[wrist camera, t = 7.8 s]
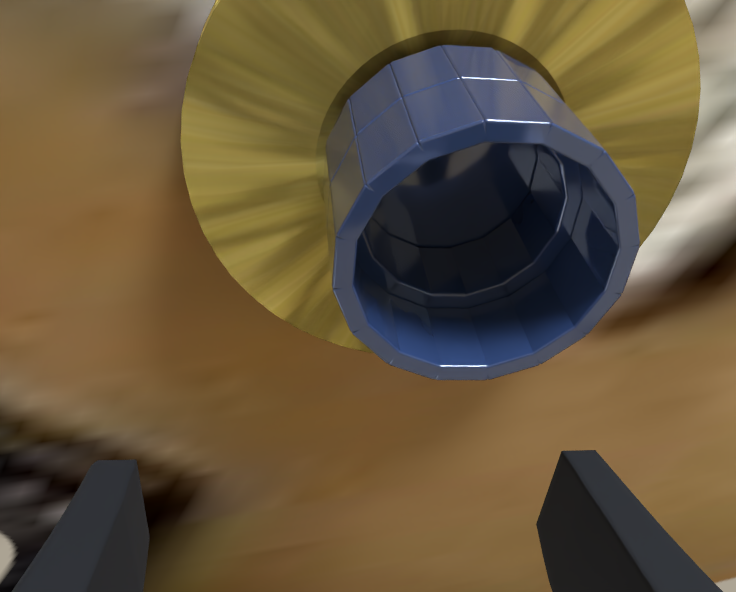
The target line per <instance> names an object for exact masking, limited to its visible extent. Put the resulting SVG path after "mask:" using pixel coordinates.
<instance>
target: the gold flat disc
mask: <svg viewBox="0 0 736 592" xmlns="http://www.w3.org/2000/svg"><path fill="white" fill-rule="evenodd" d="M442 45H457V46H473V47H489V48H493V49H494V50H499V51H501V52H503V53H504V54H506V55H508V56H510V57H512V58H514V59H516V60H517V61H519V62H521V63H523V64H525V65H527V66H529V67H530V68H532V69H534V70H535V71H536V72H537V73H539V74H540V75H541V76H542V77H543V78H544V79H545V80H546V82H547V83H548V84H549V85H550V86H551V87H552V89H553V90H554V91H555V92H556V93H557V94H558V96H559V97H560V98H561V99H562V100H563V101H564V103H565V104H566V105H567V106H568V107H569V108H570V109H571V110H572V112H573V113H574V114H575V115H576V116H577V117H578V119H579V120H580V121H581V122H582V123H583V124H584V126H585V127H586V128H587V129H588V130H589V131H590V133H591V134H592V135H593V136H594V137H595V138H596V140H597V141H598V142H599V143H600V144H601V145H602V146H603V148H604V149H605V150H606V151H607V153H608V154H609V155H610V157H611V158H612V160H613V161H614V163H615V164H616V166H617V167H618V169H619V170H620V171H621V173H622V174H623V176H624V177H625V179H626V180H627V182H628V183H629V185H630V186H631V188H632V189H633V190H634V194H635V195H636V205H637V216H638V227H639V237H640V244H639V248H640V246H641V245H642V244H643V242H644V241H645V240H646V238H647V237H648V236H649V235H650V233H651V232H652V231H653V229H654V228H655V226H656V224H657V223H658V221H659V220H660V218H661V216H662V215H663V213H664V211H665V210H666V208H667V207H668V205H669V203H670V201H671V199H672V197H673V195H674V193H675V190H676V188H677V186H678V184H679V182H680V180H681V178H682V175H683V172H684V169H685V166H686V163H687V161H688V158H689V155H690V152H691V149H692V144H693V140H694V135H695V130H696V126H697V121H698V112H699V100H700V89H701V88H700V66H699V54H698V49H697V43H696V38H695V33H694V28H693V24H692V21H691V18H690V15H689V12H688V9H687V6H686V4H685V1H684V0H216V1H215V3H214V5H213V8H212V10H211V12H210V14H209V16H208V18H207V20H206V22H205V25H204V27H203V30H202V33H201V36H200V39H199V42H198V45H197V48H196V52H195V55H194V58H193V61H192V64H191V68H190V71H189V74H188V77H187V82H186V88H185V94H184V100H183V106H182V117H181V151H182V160H183V169H184V176H185V180H186V184H187V188H188V192H189V196H190V200H191V204H192V206H193V209H194V211H195V214H196V216H197V219H198V221H199V224H200V226H201V229H202V231H203V233H204V234H205V236H206V238H207V240H208V242H209V243H210V245H211V247H212V249H213V250H214V252H215V254H216V255H217V257H218V258H219V259H220V261H221V262H222V263H223V265H224V266H225V267H226V269H227V270H228V271H229V273H230V274H231V275H232V277H233V278H234V279H235V280H236V281H237V282H238V283H239V284H240V285H241V286H242V287H243V288H244V289H245V290H246V291H247V292H248V293H249V294H250V295H251V296H252V297H253V298H254V299H256V300H257V301H258V302H259V303H261V304H262V305H263V306H264V307H266V308H267V309H268V310H269V311H271V312H272V313H273V314H275V315H277V316H278V317H280V318H281V319H283V320H285V321H286V322H288V323H289V324H291V325H293V326H294V327H296V328H298V329H300V330H302V331H305V332H307V333H309V334H311V335H313V336H315V337H317V338H320V339H323V340H326V341H328V342H331V343H334V344H337V345H340V346H343V347H347V348H352V349H356V350H360V351H365V352H370V353H374V352H373V351H372V350H371V349H369V348H368V347H367V346H366V345H365V344H363V343H362V342H361V341H360V340H359V339H358V338H356V337H355V336H354V335H353V334H352V332H351V331H350V330H349V327H348V325H347V323H346V320H345V318H344V316H343V314H342V311H341V309H340V307H339V304H338V302H337V300H336V297H335V295H334V293H333V290H332V284H331V273H330V261H329V250H328V239H327V226H326V214H325V203H324V192H323V178H324V160H325V146H326V141H327V139H328V137H329V135H330V133H331V131H332V129H333V127H334V125H335V123H336V121H337V119H338V117H339V115H340V113H341V111H342V109H343V107H344V105H345V103H346V101H347V100H348V99H350V97H351V95H353V94H354V93H355V92H356V91H357V90H358V89H360V88H361V87H362V86H363V85H364V84H365V83H367V82H368V81H369V80H370V79H371V78H372V77H373V76H375V75H376V74H377V73H378V72H379V71H380V70H382V69H383V68H384V67H385V66H386V65H388V64H390V63H391V62H393V61H396V60H398V59H401V58H404V57H407V56H410V55H413V54H416V53H419V52H422V51H424V50H427V49H430V48H433V47H436V46H442Z"/></svg>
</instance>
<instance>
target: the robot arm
mask: <svg viewBox="0 0 736 592" xmlns="http://www.w3.org/2000/svg"><path fill="white" fill-rule="evenodd" d="M536 525H537V529H538V534H539V539H540V543H541V548H542V553H543V557H544V562H545V566H546V570H547V574H548V578H549V582H550V585H551V588H552V591H553V592H723V591H722V590H721V589H720V588H719V587H718V586H716V584H715V583H714V582H713V581H712V580H711V579H710V578H709V577H708V576H707V575H706V574H705V573H704V572H703V571H702V570H701V569H700V568H699V567H698V566H697V565H696V564H695V562H694V561H693V560H692V559H691V558H690V557H689V556H688V555H687V554H686V553H685V552H684V551H683V549H682V548H681V547H680V546H679V545H678V544H677V543H676V542H675V541H674V540H673V539H672V538H671V536H670V535H669V534H668V533H667V532H666V531H665V530H664V529H663V528H662V526H661V525H660V524H659V523H658V522H657V521H656V520H655V519H654V517H653V516H652V515H651V514H650V513H649V512H648V511H647V509H646V508H645V507H644V506H643V505H642V504H641V503H640V501H639V500H638V499H637V498H636V497H635V496H634V494H633V493H632V492H631V491H630V490H629V489H628V488H627V486H626V485H625V484H624V483H623V482H622V481H621V479H620V478H619V477H618V476H617V475H616V474H615V472H614V471H613V470H612V469H611V468H610V467H609V465H608V464H607V463H606V462H605V461H604V460H603V459H602V457H601V456H600V455H599V454H598V453H597V452H596V451H595V450H584V451H562V452H561V455H560V457H559V460H558V463H557V466H556V469H555V472H554V475H553V478H552V481H551V483H550V486H549V489H548V492H547V495H546V498H545V501H544V504H543V506H542V509H541V512H540V515H539V518H538V521H537V524H536ZM148 546H149V531H148V525H147V519H146V513H145V507H144V502H143V496H142V490H141V484H140V478H139V472H138V466H137V461H136V460H98V461H96V462H95V463H94V464H93V465H91V467H90V469H89V471H88V472H87V474H86V476H85V478H84V480H83V482H82V483H81V485H80V487H79V489H78V490H77V492H76V494H75V495H74V497H73V499H72V500H71V502H70V504H69V506H68V507H67V509H66V510H65V512H64V514H63V515H62V517H61V519H60V520H59V522H58V523H57V525H56V526H55V528H54V530H53V531H52V533H51V534H50V536H49V537H48V539H47V541H46V542H45V544H44V545H43V547H42V548H41V549H40V551H39V552H38V554H37V555H36V557H35V558H34V560H33V561H32V563H31V564H30V566H29V567H28V569H27V570H26V572H25V573H24V575H23V576H22V578H21V579H20V580H19V582H18V583H17V585H16V586H15V588H14V589H13V590H12V592H143V587H144V579H145V571H146V563H147V554H148Z"/></svg>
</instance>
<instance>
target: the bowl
mask: <svg viewBox="0 0 736 592" xmlns="http://www.w3.org/2000/svg"><path fill="white" fill-rule="evenodd" d="M323 192H324V203H325V214H326V226H327V239H328V250H329V261H330V273H331V284H332V290H333V293H334V295H335V297H336V300H337V302H338V304H339V307H340V309H341V311H342V314H343V316H344V318H345V320H346V323H347V325H348V327H349V330H350V331H351V332H352V334H353V335H354V336H355V337H356V338H358V339H359V340H360V341H361V342H362V343H363V344H365V345H366V346H367V347H368V348H369V349H371V350H372V351H373V352H374V353H375V354H376V355H378V356H379V357H380V358H381V359H382V360H383V361H385V362H386V363H388V364H389V365H391V366H394V367H397V368H400V369H403V370H406V371H409V372H412V373H415V374H418V375H421V376H424V377H427V378H430V379H436V380H487V379H488V380H490V379H494V378H497V377H500V376H504V375H507V374H511V373H514V372H518V371H521V370H524V369H528V368H531V367H535V366H538V365H539V364H542V363H544V362H546V361H547V360H549V359H550V358H552V357H554V356H555V355H557V354H558V353H560V352H561V351H563V350H565V349H566V348H568V347H569V346H571V345H573V344H574V343H576V342H577V341H579V340H581V339H582V338H584V337H585V336H586V335H587V334H589V332H590V331H591V330H592V329H593V328H594V327H595V325H596V324H597V323H598V322H599V321H600V320H601V318H602V317H603V316H604V315H605V314H606V313H607V311H608V310H609V309H610V308H611V307H612V306H613V304H614V303H615V302H616V301H617V300H618V299H619V297H620V296H621V294H622V293H623V291H624V288H625V285H626V282H627V280H628V277H629V274H630V271H631V269H632V266H633V263H634V261H635V258H636V255H637V252H638V250H639V244H640V237H639V227H638V216H637V205H636V195H635V194H634V190H633V189H632V188H631V186H630V185H629V183H628V182H627V180H626V179H625V177H624V176H623V174H622V173H621V171H620V170H619V169H618V167H617V166H616V164H615V163H614V161H613V160H612V158H611V157H610V155H609V154H608V153H607V151H606V150H605V149H604V148H603V146H602V145H601V144H600V143H599V142H598V141H597V140H596V138H595V137H594V136H593V135H592V134H591V133H590V131H589V130H588V129H587V128H586V127H585V126H584V124H583V123H582V122H581V121H580V120H579V119H578V117H577V116H576V115H575V114H574V113H573V112H572V110H571V109H570V108H569V107H568V106H567V105H566V104H565V103H564V101H563V100H562V99H561V98H560V97H559V96H558V94H557V93H556V92H555V91H554V90H553V89H552V87H551V86H550V85H549V84H548V83H547V82H546V80H545V79H544V78H543V77H542V76H541V75H540V74H539V73H537V72H536V71H535V70H534V69H532V68H530V67H529V66H527V65H525V64H523V63H521V62H519V61H517V60H516V59H514V58H512V57H510V56H508V55H506V54H504V53H503V52H501V51H499V50H494V49H493V48H489V47H473V46H457V45H442V46H436V47H433V48H430V49H427V50H424V51H422V52H419V53H416V54H413V55H410V56H407V57H404V58H401V59H398V60H396V61H393V62H391V63H390V64H388V65H386V66H385V67H384V68H383V69H382V70H380V71H379V72H378V73H377V74H376V75H375V76H373V77H372V78H371V79H370V80H369V81H368V82H367V83H365V84H364V85H363V86H362V87H361V88H360V89H358V90H357V91H356V92H355V93H354V94H353V95H351V97H350V99H348V100H347V101H346V103H345V105H344V107H343V109H342V111H341V113H340V115H339V117H338V119H337V121H336V123H335V125H334V127H333V129H332V131H331V133H330V135H329V137H328V139H327V141H326V146H325V160H324V178H323Z"/></svg>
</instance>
